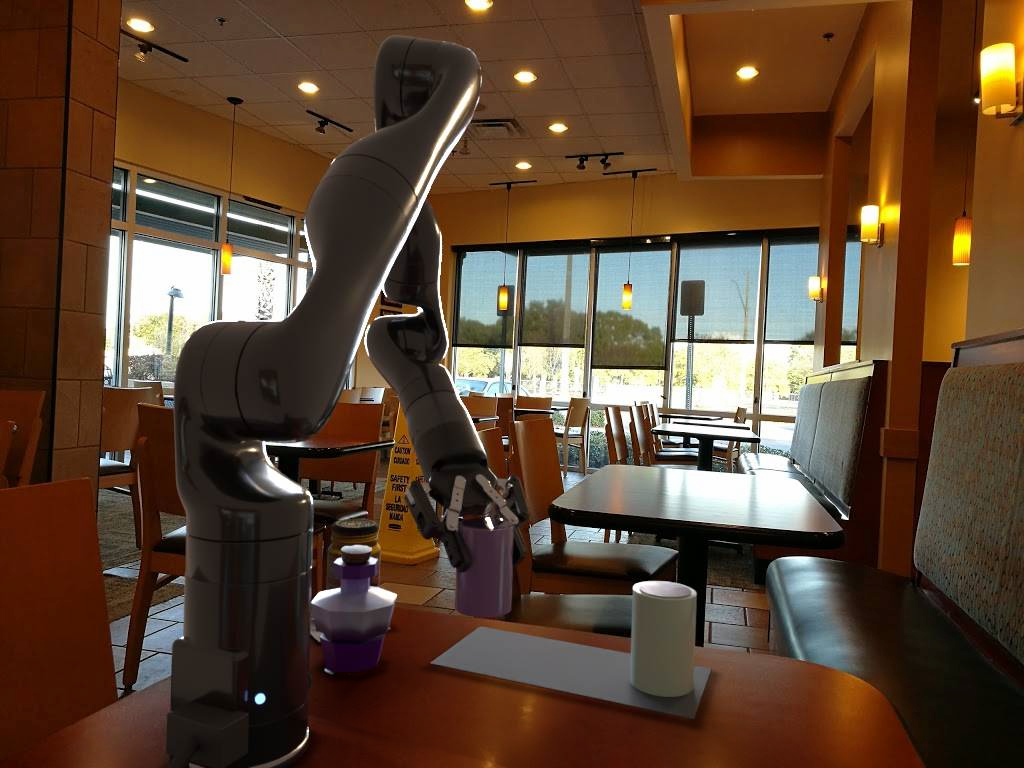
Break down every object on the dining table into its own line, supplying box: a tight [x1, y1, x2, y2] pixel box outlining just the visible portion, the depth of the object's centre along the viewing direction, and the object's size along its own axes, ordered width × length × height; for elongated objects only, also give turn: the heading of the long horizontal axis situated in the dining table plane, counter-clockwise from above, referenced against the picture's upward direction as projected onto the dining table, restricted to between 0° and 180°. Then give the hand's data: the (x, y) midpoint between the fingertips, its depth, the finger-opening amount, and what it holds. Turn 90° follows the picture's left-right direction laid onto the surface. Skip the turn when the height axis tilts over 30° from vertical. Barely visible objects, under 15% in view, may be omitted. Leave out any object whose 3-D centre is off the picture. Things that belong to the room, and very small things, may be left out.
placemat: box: [429, 625, 713, 720], centre depth 73 cm, size 12×26×1 cm, turn 67°
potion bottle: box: [311, 545, 398, 676], centre depth 73 cm, size 9×9×12 cm
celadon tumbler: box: [629, 580, 698, 697], centre depth 70 cm, size 6×6×9 cm
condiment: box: [310, 518, 392, 643], centre depth 84 cm, size 7×8×12 cm
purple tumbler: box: [454, 517, 514, 619], centre depth 77 cm, size 6×6×9 cm
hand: (493, 564), depth 76 cm, fingers closed on purple tumbler, 6 cm apart
